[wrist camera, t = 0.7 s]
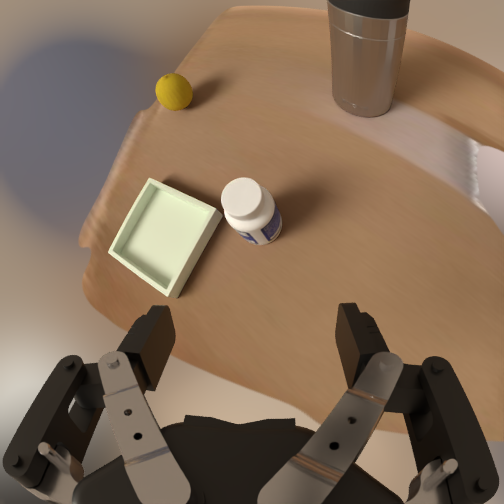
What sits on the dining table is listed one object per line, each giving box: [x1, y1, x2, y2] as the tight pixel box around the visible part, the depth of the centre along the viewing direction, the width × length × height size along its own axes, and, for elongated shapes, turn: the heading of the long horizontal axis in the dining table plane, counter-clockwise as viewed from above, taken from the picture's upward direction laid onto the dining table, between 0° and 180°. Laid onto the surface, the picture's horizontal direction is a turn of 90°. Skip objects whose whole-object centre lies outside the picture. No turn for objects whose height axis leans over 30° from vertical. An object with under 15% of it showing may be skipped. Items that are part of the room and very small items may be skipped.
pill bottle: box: [221, 178, 282, 245], centre depth 30 cm, size 5×5×9 cm
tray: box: [108, 178, 223, 298], centre depth 36 cm, size 12×12×2 cm
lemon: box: [156, 73, 193, 111], centre depth 38 cm, size 6×6×8 cm
